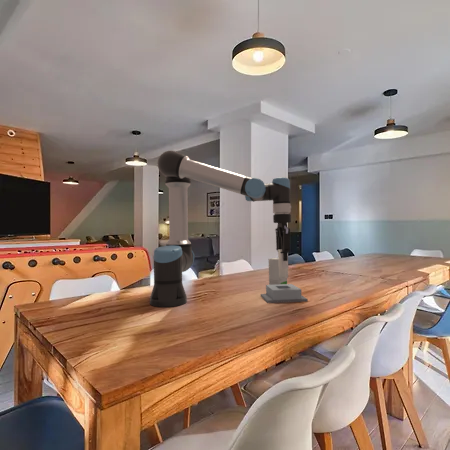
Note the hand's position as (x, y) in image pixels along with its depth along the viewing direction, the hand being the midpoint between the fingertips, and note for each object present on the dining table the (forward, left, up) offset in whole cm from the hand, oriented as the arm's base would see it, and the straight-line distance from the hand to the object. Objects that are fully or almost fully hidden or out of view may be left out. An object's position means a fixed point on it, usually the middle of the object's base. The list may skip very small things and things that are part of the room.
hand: (283, 267), depth 131 cm
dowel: (0, 0, -4) cm, 4 cm away
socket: (0, 0, -13) cm, 13 cm away
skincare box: (+3, +18, -14) cm, 23 cm away
